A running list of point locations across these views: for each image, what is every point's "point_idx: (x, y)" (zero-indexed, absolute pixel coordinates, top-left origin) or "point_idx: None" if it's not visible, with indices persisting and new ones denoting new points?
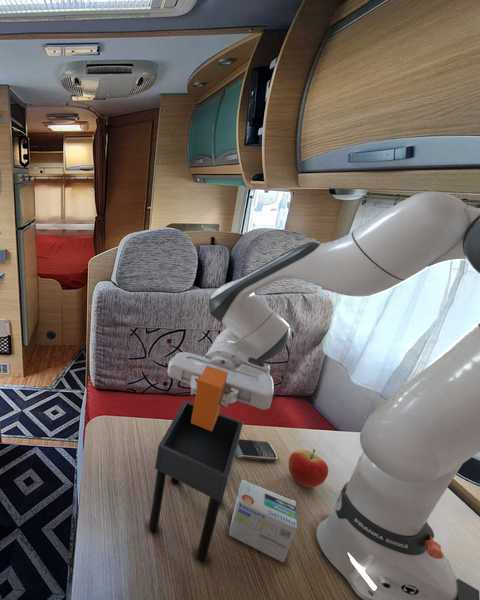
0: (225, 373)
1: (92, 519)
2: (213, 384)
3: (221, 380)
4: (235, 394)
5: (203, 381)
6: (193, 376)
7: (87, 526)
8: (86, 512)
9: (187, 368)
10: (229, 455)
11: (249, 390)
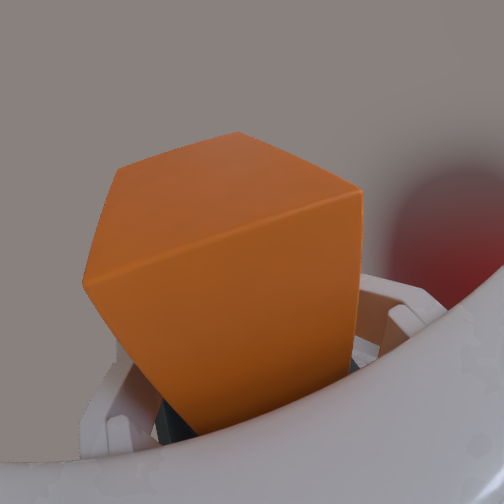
0: (104, 244)
1: (360, 361)
2: (158, 155)
3: (124, 185)
4: (93, 404)
5: (212, 138)
6: (423, 303)
7: (354, 352)
8: (372, 358)
9: (497, 280)
10: (164, 418)
11: (15, 462)
